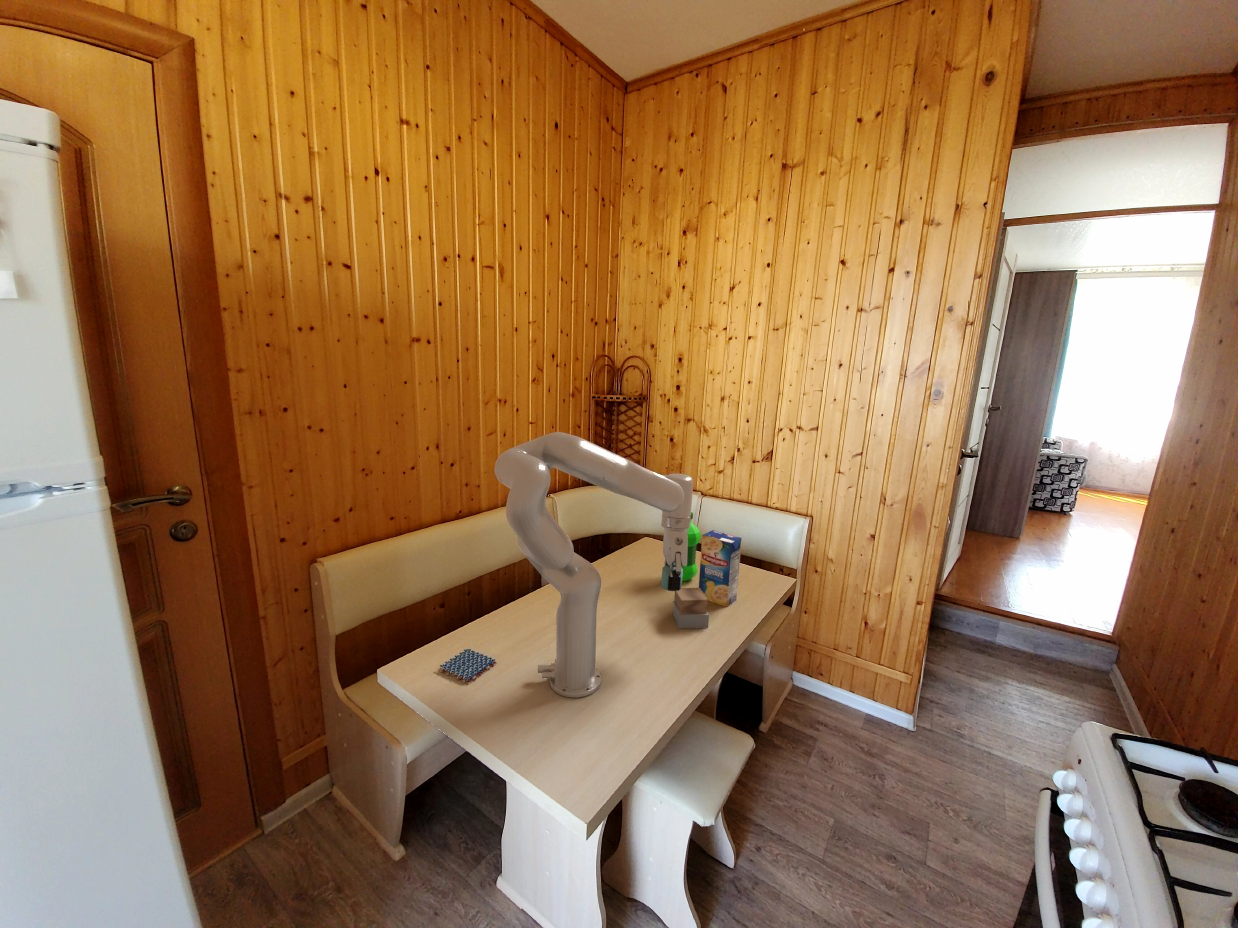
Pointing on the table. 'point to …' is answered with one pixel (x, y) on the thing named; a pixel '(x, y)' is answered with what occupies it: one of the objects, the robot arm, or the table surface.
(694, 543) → the green soda bottle
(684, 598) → the tower top
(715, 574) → the beverage box
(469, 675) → the woven mat
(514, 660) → the table surface
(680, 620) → the tower base
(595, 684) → the robot arm
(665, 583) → the blue egg-shaped pebble
